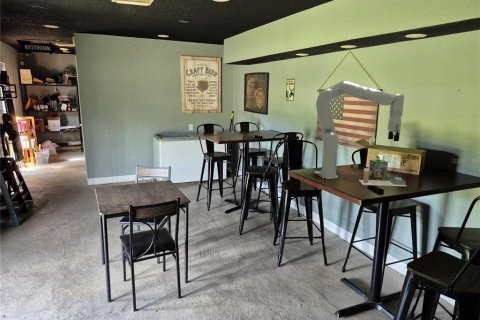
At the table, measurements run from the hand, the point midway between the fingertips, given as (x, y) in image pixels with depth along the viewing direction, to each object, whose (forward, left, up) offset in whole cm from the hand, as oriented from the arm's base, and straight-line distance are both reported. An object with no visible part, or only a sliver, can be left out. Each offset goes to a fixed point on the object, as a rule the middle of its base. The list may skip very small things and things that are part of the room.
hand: (393, 140), depth 212 cm
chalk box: (-5, +9, -27) cm, 29 cm away
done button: (+2, -10, -25) cm, 27 cm away
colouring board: (-8, -10, -27) cm, 30 cm away
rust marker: (-18, -10, -26) cm, 33 cm away
